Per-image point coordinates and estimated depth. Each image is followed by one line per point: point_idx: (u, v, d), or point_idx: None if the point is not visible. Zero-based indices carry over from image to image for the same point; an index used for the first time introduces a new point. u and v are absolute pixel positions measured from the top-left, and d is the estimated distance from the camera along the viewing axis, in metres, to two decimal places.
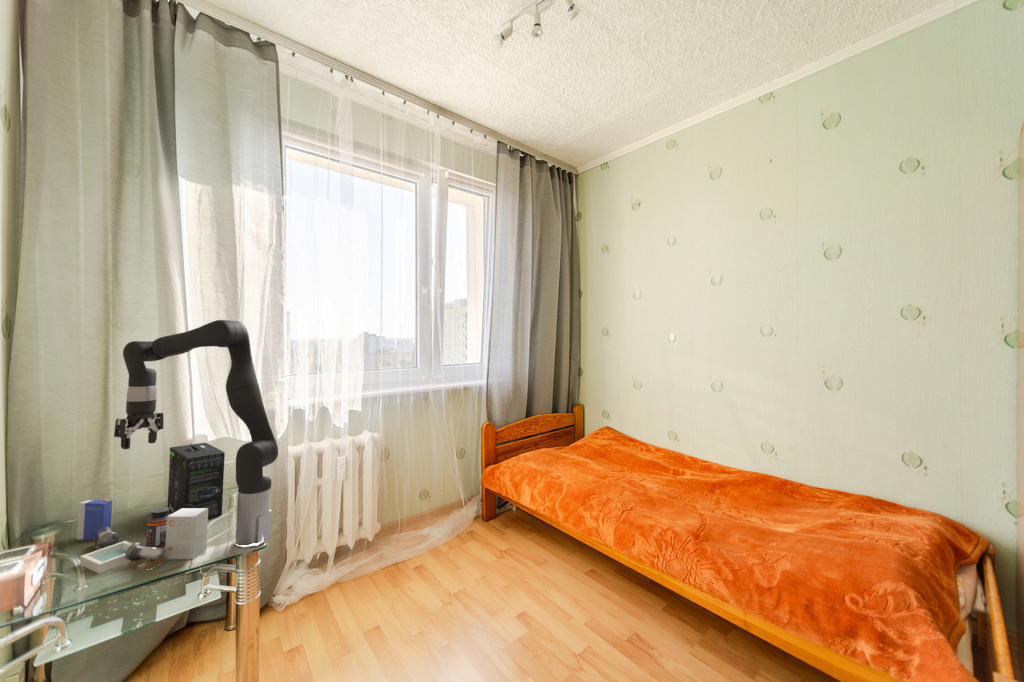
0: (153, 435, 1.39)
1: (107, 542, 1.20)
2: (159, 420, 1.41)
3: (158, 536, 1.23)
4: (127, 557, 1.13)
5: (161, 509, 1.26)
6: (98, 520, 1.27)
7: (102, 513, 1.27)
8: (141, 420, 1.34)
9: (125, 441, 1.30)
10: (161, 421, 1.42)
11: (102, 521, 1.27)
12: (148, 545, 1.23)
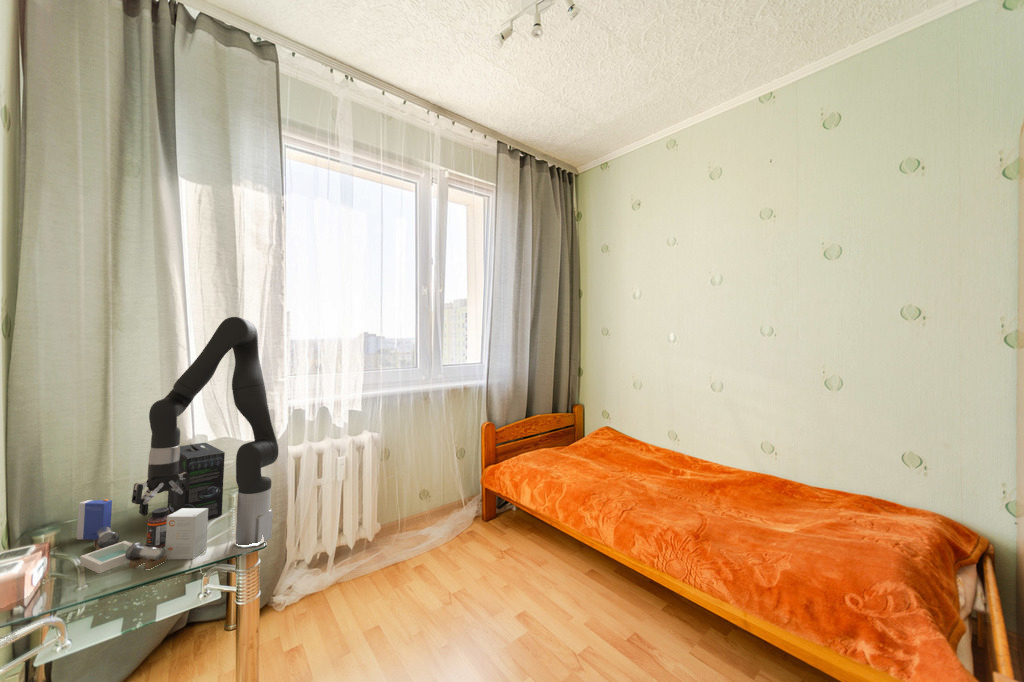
0: None
1: (107, 542, 1.20)
2: None
3: (158, 536, 1.23)
4: (127, 557, 1.13)
5: (161, 509, 1.26)
6: (98, 520, 1.27)
7: (102, 513, 1.27)
8: None
9: None
10: None
11: (102, 521, 1.27)
12: (148, 545, 1.23)
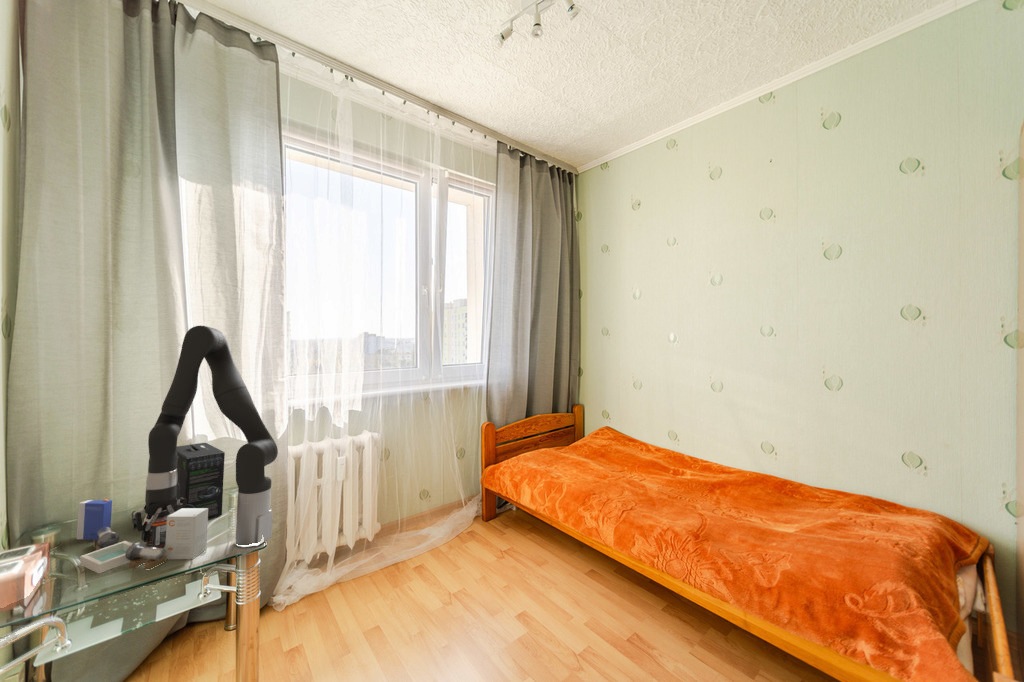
0: None
1: (107, 542, 1.20)
2: None
3: (158, 536, 1.23)
4: (127, 557, 1.13)
5: None
6: (98, 520, 1.27)
7: (102, 513, 1.27)
8: None
9: None
10: None
11: (102, 521, 1.27)
12: (148, 545, 1.23)
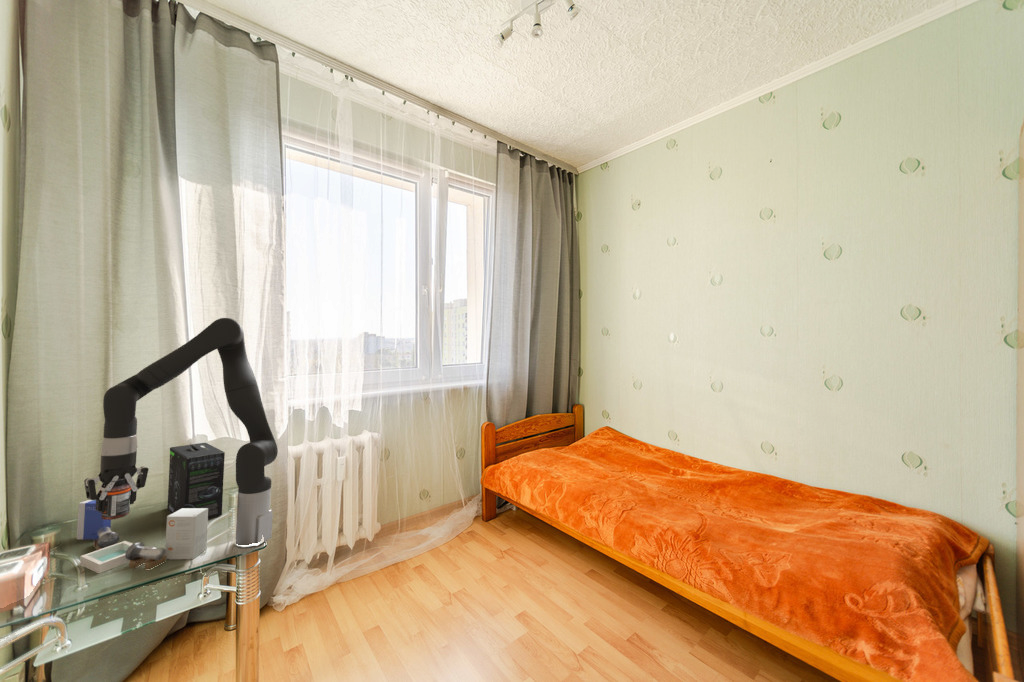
0: None
1: (107, 542, 1.20)
2: None
3: (113, 506, 1.14)
4: (127, 557, 1.13)
5: None
6: (98, 520, 1.27)
7: None
8: None
9: None
10: None
11: (102, 521, 1.27)
12: (103, 516, 1.14)
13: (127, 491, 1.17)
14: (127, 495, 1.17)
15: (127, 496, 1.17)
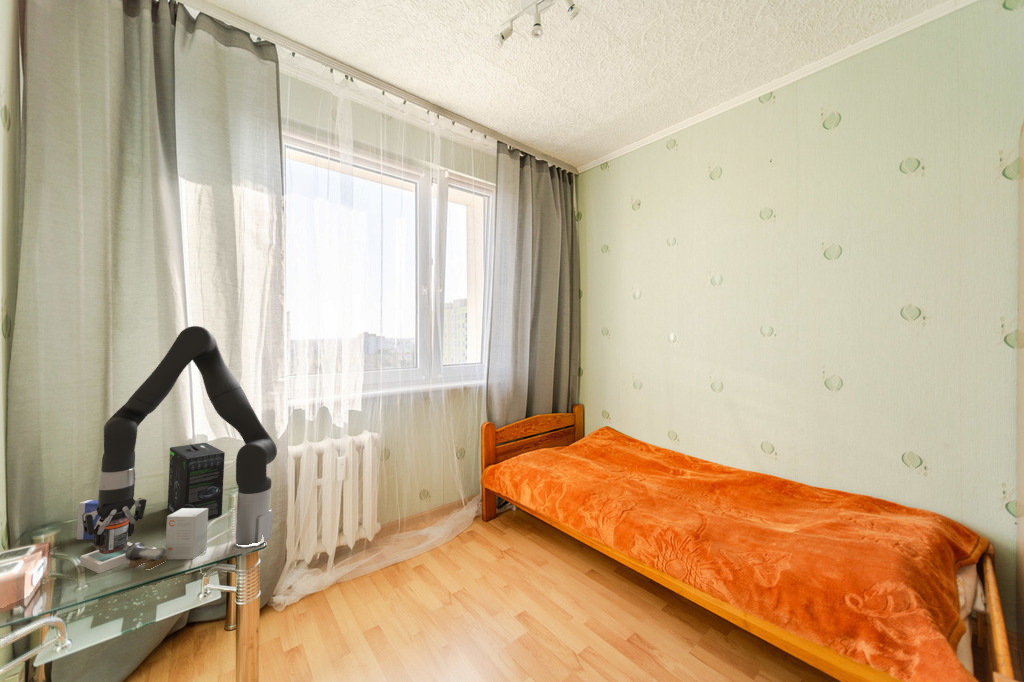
0: None
1: None
2: None
3: (111, 540, 1.14)
4: (127, 557, 1.13)
5: None
6: None
7: None
8: None
9: None
10: None
11: None
12: (101, 550, 1.14)
13: (125, 524, 1.17)
14: (125, 528, 1.17)
15: (125, 529, 1.17)
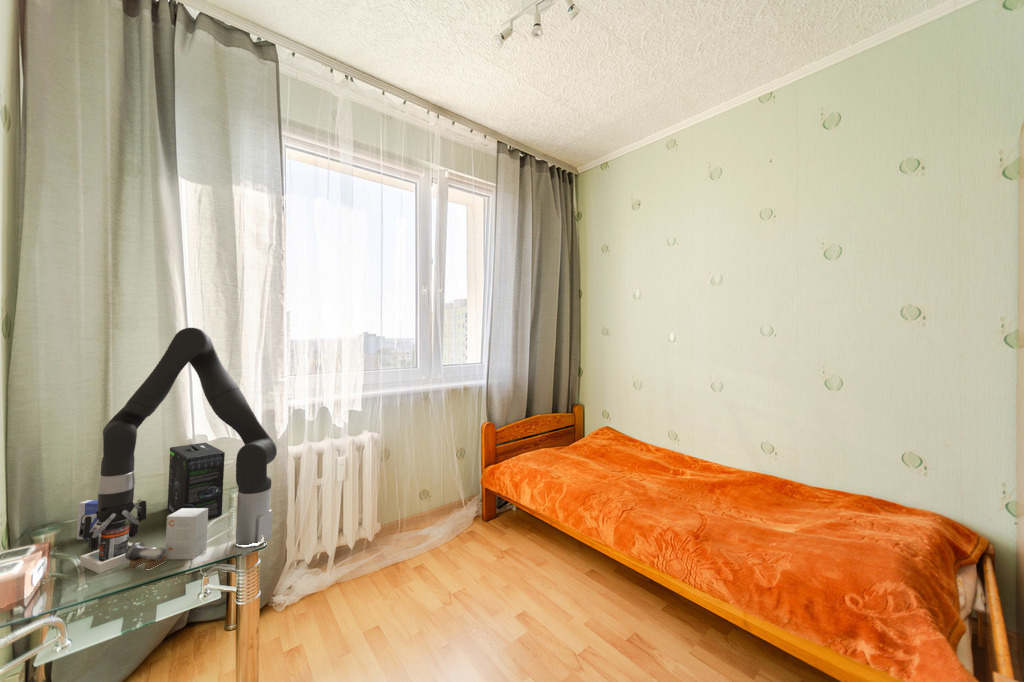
0: None
1: None
2: None
3: (111, 548, 1.14)
4: (127, 557, 1.13)
5: None
6: None
7: None
8: None
9: None
10: None
11: None
12: (100, 559, 1.13)
13: (125, 533, 1.17)
14: (125, 537, 1.17)
15: (125, 538, 1.17)
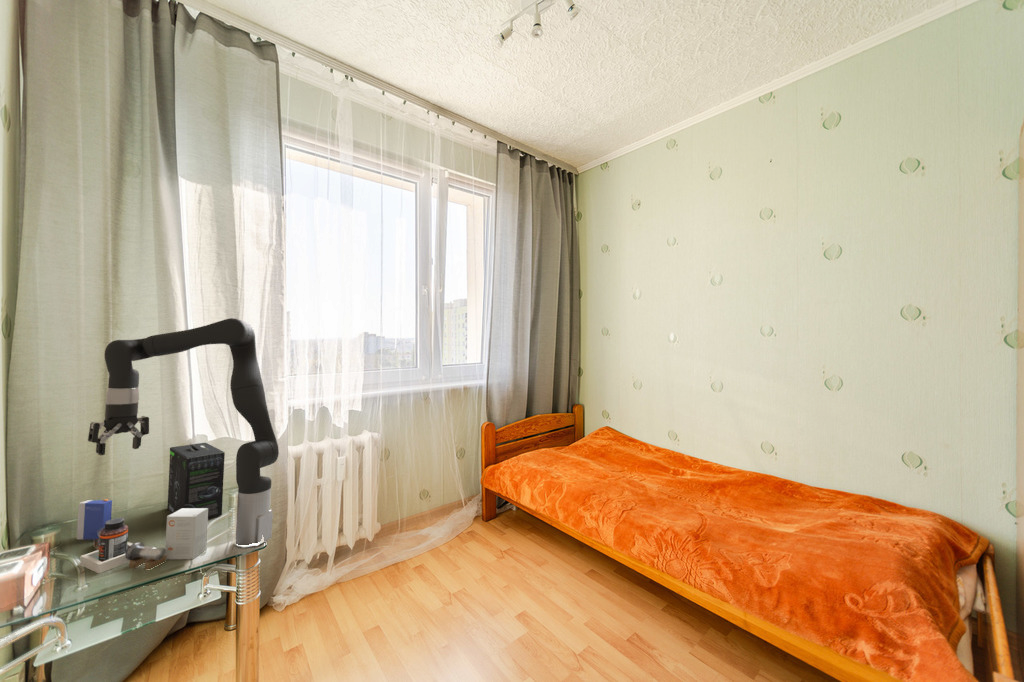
0: None
1: None
2: None
3: (111, 549, 1.14)
4: (127, 557, 1.13)
5: (115, 520, 1.16)
6: (98, 520, 1.27)
7: (102, 513, 1.27)
8: None
9: None
10: None
11: (102, 521, 1.27)
12: (100, 559, 1.13)
13: (125, 534, 1.16)
14: (125, 537, 1.17)
15: (124, 538, 1.17)
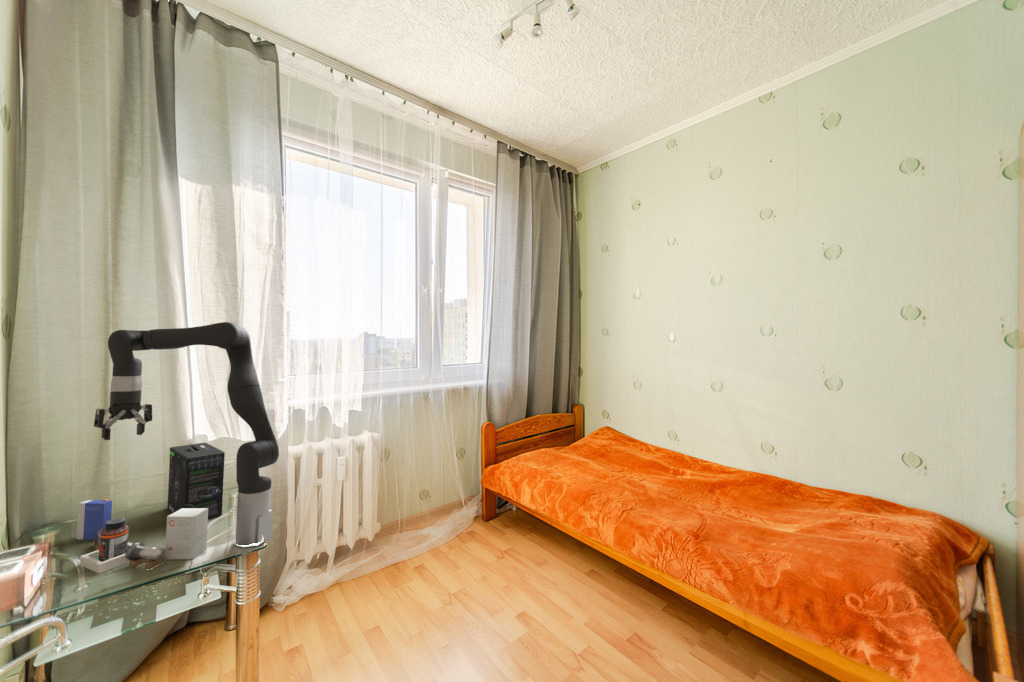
0: None
1: None
2: None
3: (111, 549, 1.14)
4: (127, 557, 1.13)
5: (116, 520, 1.16)
6: (98, 520, 1.27)
7: (102, 513, 1.27)
8: None
9: None
10: None
11: (102, 521, 1.27)
12: (100, 559, 1.13)
13: (125, 534, 1.17)
14: (125, 537, 1.17)
15: (125, 538, 1.17)
